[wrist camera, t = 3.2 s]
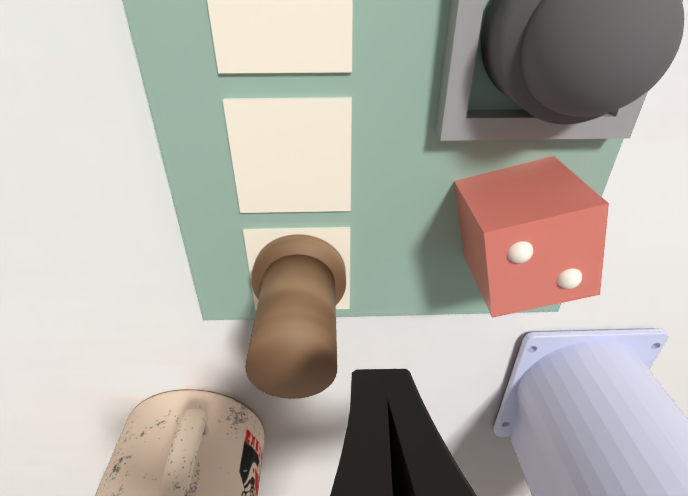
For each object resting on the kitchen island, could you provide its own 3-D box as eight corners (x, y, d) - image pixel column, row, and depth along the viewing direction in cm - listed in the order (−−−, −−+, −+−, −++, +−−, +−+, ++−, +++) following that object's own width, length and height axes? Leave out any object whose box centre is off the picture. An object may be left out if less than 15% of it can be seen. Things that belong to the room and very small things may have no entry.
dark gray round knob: (600, 102, 16) (688, 149, 12) (469, 103, 16) (516, 151, 12) (653, -59, 13) (788, -66, 9) (496, -60, 13) (568, -67, 9)
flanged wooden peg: (345, 306, 21) (350, 405, 16) (259, 307, 21) (239, 408, 16) (345, 233, 19) (351, 325, 14) (248, 235, 18) (222, 327, 14)
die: (552, 236, 19) (605, 300, 16) (464, 257, 20) (494, 324, 16) (553, 155, 17) (614, 208, 13) (453, 180, 18) (487, 238, 14)
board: (551, 301, 23) (567, 325, 21) (207, 309, 22) (198, 334, 21) (719, -168, 12) (773, -185, 11) (90, -174, 12) (57, -192, 10)
